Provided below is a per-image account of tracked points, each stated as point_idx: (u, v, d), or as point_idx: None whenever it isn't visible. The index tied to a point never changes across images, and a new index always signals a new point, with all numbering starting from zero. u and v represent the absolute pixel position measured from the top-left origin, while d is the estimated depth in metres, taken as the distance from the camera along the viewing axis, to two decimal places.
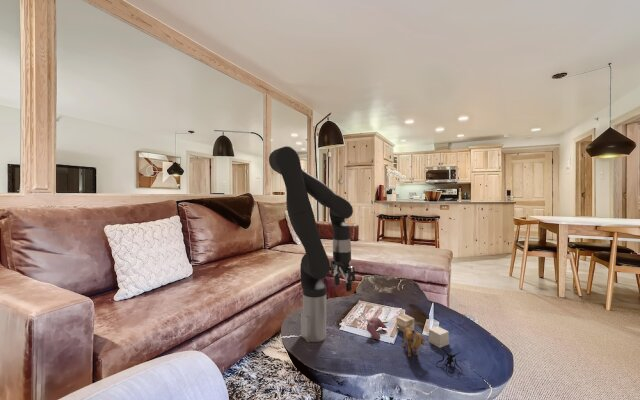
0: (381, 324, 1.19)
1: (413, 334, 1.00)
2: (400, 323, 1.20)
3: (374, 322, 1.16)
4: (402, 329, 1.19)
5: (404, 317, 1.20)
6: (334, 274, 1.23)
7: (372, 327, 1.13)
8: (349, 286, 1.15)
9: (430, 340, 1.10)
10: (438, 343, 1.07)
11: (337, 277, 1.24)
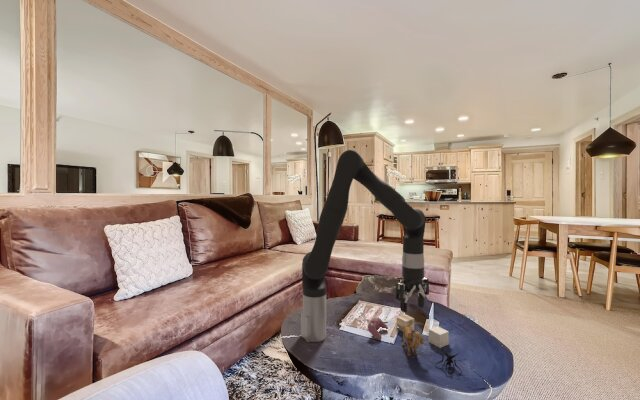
0: (382, 324, 1.19)
1: (412, 333, 1.00)
2: (400, 323, 1.20)
3: (375, 322, 1.15)
4: (402, 329, 1.19)
5: (404, 317, 1.20)
6: (406, 299, 1.01)
7: (373, 327, 1.13)
8: None
9: (430, 340, 1.10)
10: (438, 343, 1.07)
11: None
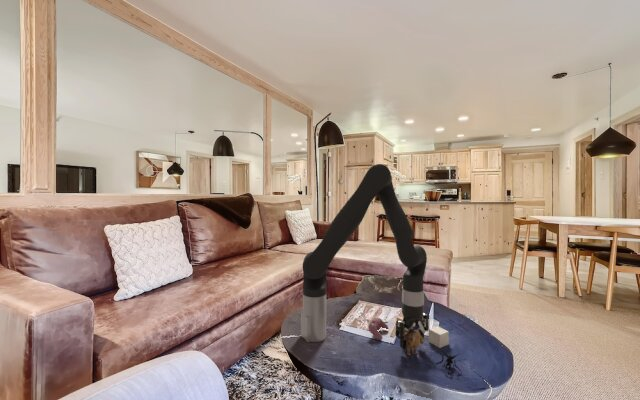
0: (383, 324, 1.19)
1: (412, 333, 1.00)
2: None
3: (376, 322, 1.15)
4: None
5: None
6: (406, 337, 1.01)
7: (374, 327, 1.13)
8: None
9: (430, 340, 1.10)
10: (438, 343, 1.07)
11: None
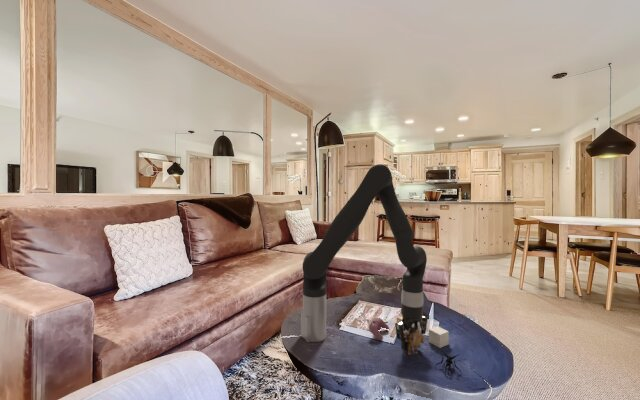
0: (383, 324, 1.19)
1: (413, 332, 1.01)
2: None
3: (377, 323, 1.15)
4: None
5: None
6: (407, 338, 1.01)
7: (375, 328, 1.13)
8: None
9: (430, 340, 1.10)
10: (438, 343, 1.07)
11: None
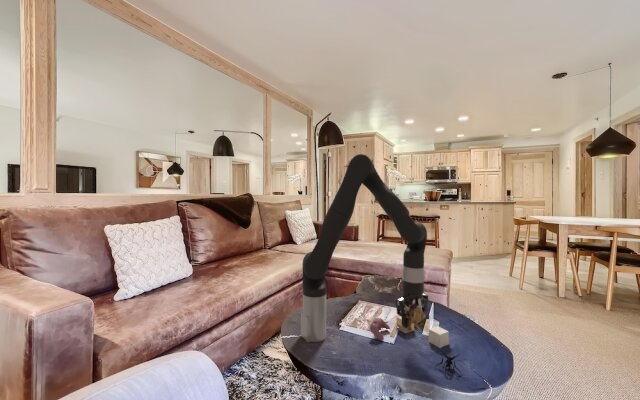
0: (384, 325, 1.19)
1: (413, 308, 1.00)
2: (400, 323, 1.20)
3: (377, 323, 1.15)
4: (402, 329, 1.19)
5: None
6: (407, 314, 1.01)
7: (375, 328, 1.13)
8: None
9: (430, 340, 1.10)
10: (438, 343, 1.07)
11: None
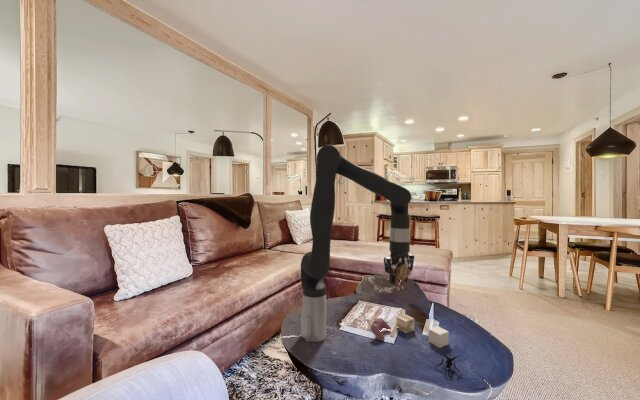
0: (385, 325, 1.18)
1: (400, 266, 1.08)
2: (400, 323, 1.20)
3: (378, 323, 1.15)
4: (402, 329, 1.19)
5: (404, 317, 1.20)
6: (394, 272, 1.09)
7: (376, 328, 1.12)
8: None
9: (430, 340, 1.10)
10: (438, 343, 1.07)
11: None
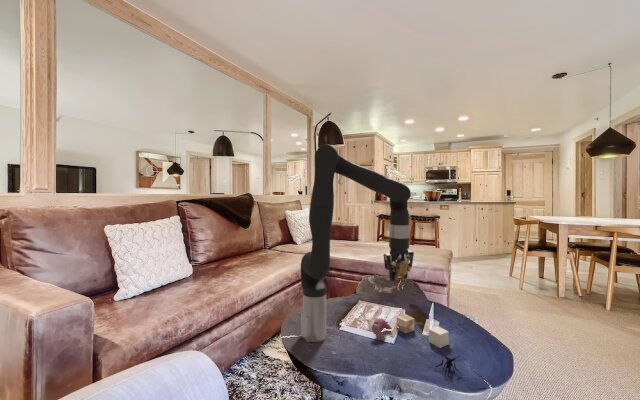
0: (386, 325, 1.18)
1: (400, 262, 1.09)
2: (400, 323, 1.20)
3: (379, 323, 1.15)
4: (402, 329, 1.19)
5: (404, 317, 1.20)
6: (394, 268, 1.10)
7: (377, 328, 1.12)
8: None
9: (430, 340, 1.10)
10: (438, 343, 1.07)
11: None
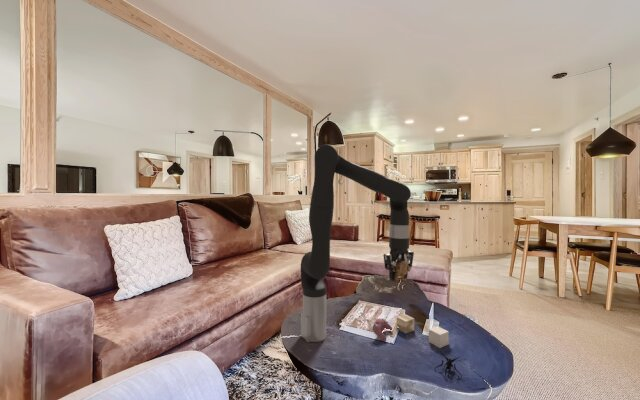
0: (387, 325, 1.18)
1: (400, 262, 1.09)
2: (400, 323, 1.20)
3: (380, 323, 1.14)
4: (402, 329, 1.19)
5: (404, 317, 1.20)
6: (394, 268, 1.10)
7: (378, 328, 1.12)
8: None
9: (430, 340, 1.10)
10: (438, 343, 1.07)
11: None
